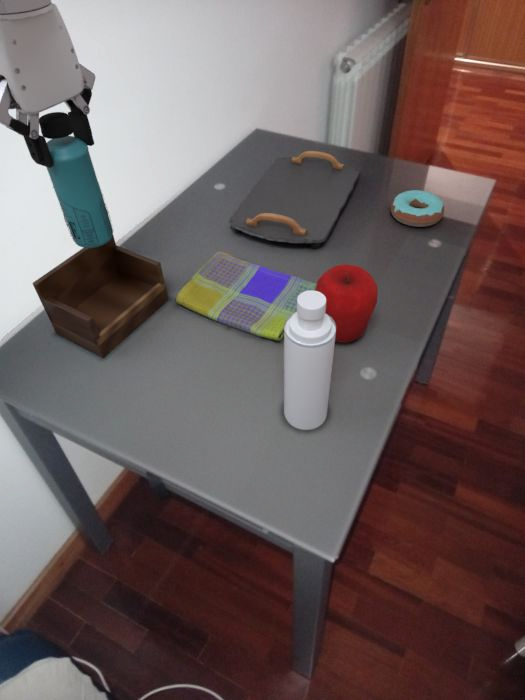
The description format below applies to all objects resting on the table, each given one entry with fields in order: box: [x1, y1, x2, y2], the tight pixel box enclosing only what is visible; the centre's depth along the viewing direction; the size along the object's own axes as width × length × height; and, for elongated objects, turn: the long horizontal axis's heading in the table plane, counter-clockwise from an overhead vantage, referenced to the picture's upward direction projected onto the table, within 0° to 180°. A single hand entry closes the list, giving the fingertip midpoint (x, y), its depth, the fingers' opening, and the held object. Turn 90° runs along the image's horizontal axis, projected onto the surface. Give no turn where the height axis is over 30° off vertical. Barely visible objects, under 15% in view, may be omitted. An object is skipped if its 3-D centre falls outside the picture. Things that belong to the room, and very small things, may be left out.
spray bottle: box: [283, 290, 336, 431], centre depth 68 cm, size 7×7×25 cm
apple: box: [315, 263, 379, 343], centre depth 84 cm, size 11×10×14 cm
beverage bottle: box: [39, 111, 114, 248], centre depth 71 cm, size 6×7×20 cm
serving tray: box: [228, 150, 361, 250], centre depth 116 cm, size 39×23×6 cm, turn 159°
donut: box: [390, 189, 445, 228], centre depth 112 cm, size 12×12×4 cm
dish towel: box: [174, 250, 317, 342], centre depth 95 cm, size 18×24×3 cm
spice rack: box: [32, 235, 169, 359], centre depth 89 cm, size 18×12×12 cm, turn 148°
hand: (65, 152), depth 67 cm, fingers closed on beverage bottle, 6 cm apart
